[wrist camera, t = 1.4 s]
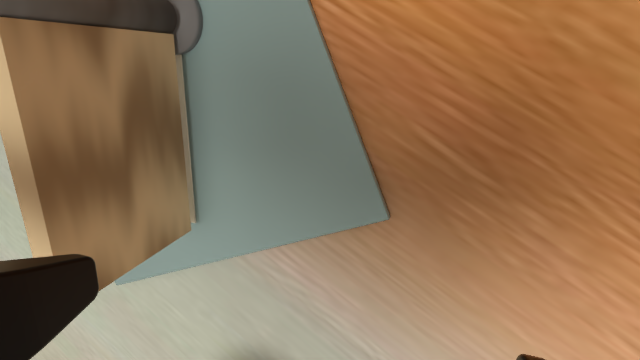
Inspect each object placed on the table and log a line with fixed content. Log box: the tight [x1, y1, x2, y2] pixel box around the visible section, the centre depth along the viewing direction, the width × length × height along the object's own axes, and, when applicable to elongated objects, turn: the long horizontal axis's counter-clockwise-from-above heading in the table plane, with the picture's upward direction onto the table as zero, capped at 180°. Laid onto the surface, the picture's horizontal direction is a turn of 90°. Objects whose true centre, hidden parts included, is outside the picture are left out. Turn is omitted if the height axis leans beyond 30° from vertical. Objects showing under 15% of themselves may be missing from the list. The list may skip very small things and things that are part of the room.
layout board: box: [115, 0, 390, 285], centre depth 21 cm, size 22×18×1 cm
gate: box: [0, 0, 191, 291], centre depth 16 cm, size 13×2×8 cm, turn 179°
